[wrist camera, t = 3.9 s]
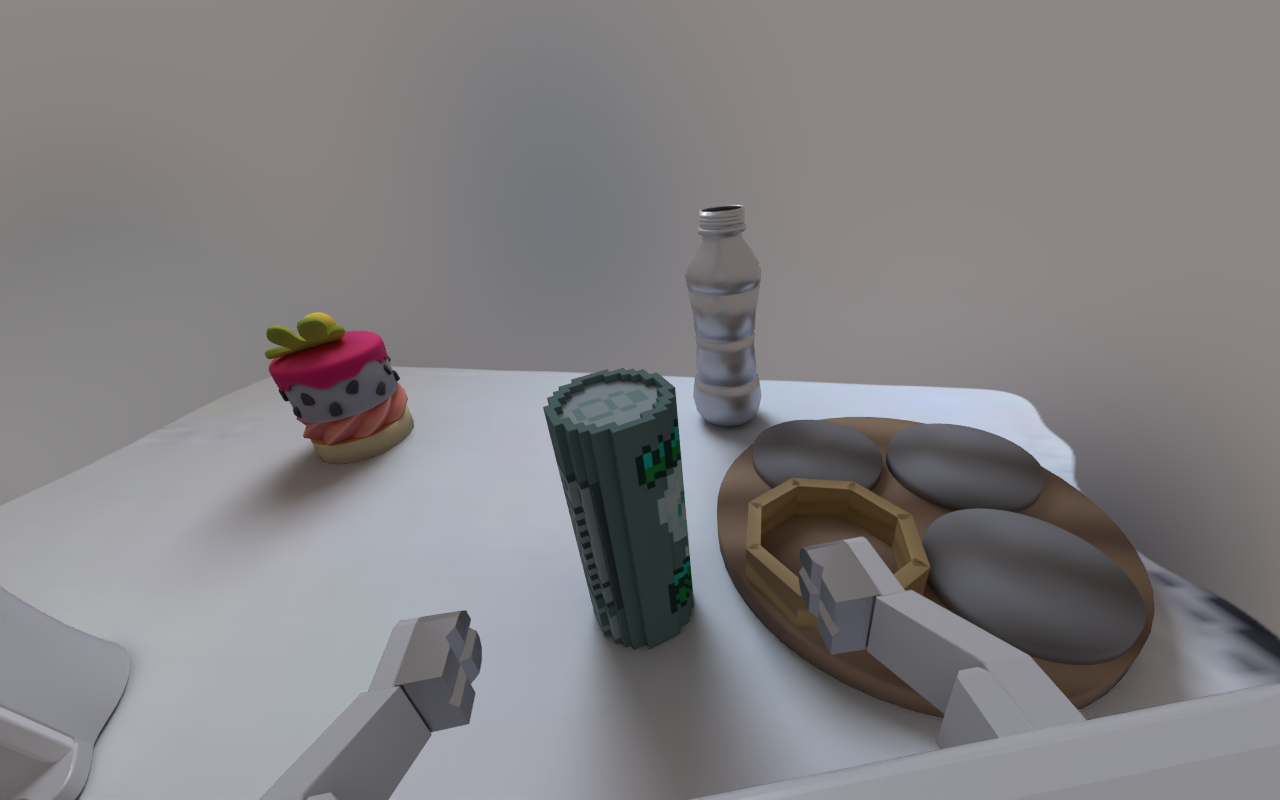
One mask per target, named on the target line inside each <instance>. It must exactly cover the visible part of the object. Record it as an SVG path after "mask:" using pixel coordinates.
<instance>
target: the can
mask: <svg viewBox="0 0 1280 800" xmlns="http://www.w3.org/2000/svg"><path fill="white" fill-rule="evenodd" d="M571 381H572V383H571V384H567V385H564V386H560V387H559V391H556V392H553V395H554V396H552V397H549V398H547V399H548V403H549V405H548V406H545V407H543V408H544V412H545V416H546V420H547V424H548V428H549V433H550V437H551V441H552V445H553V449H554V453H555V457H556V461H557V465H558V469H559V473H560V477H561V481H562V485H563V489H564V493H565V497H566V501H567V505H568V509H569V513H570V517H571V521H572V525H573V529H574V533H575V537H576V541H577V545H578V549H579V553H580V557H581V561H582V565H583V569H584V573H585V577H586V581H587V585H588V589H589V593H590V597H591V601H592V605H593V609H594V612H595V614H596V617H597V619H598V621H599V624H600V626H601V628H602V631H603V633H604V635H605V636H606V635H608V634H610V633H611V634H612V636H613V639H614V641H615V643H616V644H617V643H620V642H623V644H624V646H625V647H626V646H628V645H630V644H632V646H633V649H636V648H638V647H640V646H642V645H644V644H646V643H647V645H648V647H649V649H651V648H653V647H655V646H657V645H659V644H660V643H662V642H664V641H666V640H668V639H670V638H672V637H674V636H676V635H678V634H680V626H682V625H684V624H686V623H688V622H689V618H688V615H690V614H691V607H693V606H694V603H693V589H692V577H691V566H690V554H689V543H688V531H687V520H686V508H685V497H684V485H683V474H682V462H681V451H680V439H679V428H678V416H677V405H676V393H675V387H674V386H673V385H671V384H670V383H669V382H668V381H666V380H665V379H664V378H663V377H662V376H660V375H659V374H658V373H653V374H650V375H649V374H648V373H647V372H646V371H645V370H643V369H642V370H639V371H635V370H634V369H630V370H627V371H626V370H625V369H624V368H622V369H618V370H615V371H612V372H609V371H608V370H603V371H600V372H596V373H593V374H589V375H586V376H583V377H579V378H576V379H572V380H571Z"/></svg>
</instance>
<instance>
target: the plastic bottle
mask: <svg viewBox="0 0 1280 800" xmlns="http://www.w3.org/2000/svg"><path fill="white" fill-rule="evenodd" d="M745 225H746V224H745V223H744V206H742V205H723V206H715V207H708V208H704V209H701V210H699V228H698V233H699V234H700V235H702V241H701V243H700V245H699V246H698V247H697V249H696V251H695V252H694V254H693V256H692V257H691V260H690V261H689V263H688V266H687V270H686V275H685V278H686V285H687V288H688V294H689V299H690V304H691V308H692V313H693V319H694V327H695V332H696V343H697V356H696V357H697V359H696V377H695V383H694V395H693V396H694V400H695V404H696V408H697V411H698V412H699V413H700V415H701V416H702V417H703V418H704V419H705V420H707V421H708V422H711V423H713V424H717V425H723V426H733V425H739V424H743V423H745V422H747V421H749V420H750V419H752V418H753V416H754V415H755V414H756V413H757V411H758V409H759V405H760V400H761V390H760V383H759V378H758V374H757V371H756V360H755V349H754V329H755V314H756V306H757V300H758V294H759V287H760V285H759V283H760V278H761V270H760V266H759V262H758V260H757V258H756V256H755V255H754V253H753V252H752V250H751V248H750V247H749V246H748V244H747V243H746V242H745V240H744V239H743V238H742V232H743V231H745V229H746V227H745Z"/></svg>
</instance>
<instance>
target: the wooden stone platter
mask: <svg viewBox="0 0 1280 800" xmlns="http://www.w3.org/2000/svg"><path fill="white" fill-rule="evenodd" d="M717 521H718V537H719V544H720V551H721V554H722V557H723V560H724V563H725V567H726V569H727V571H728V573H729V575H730V577H731V579H732V581H733V583H734V585H735V587H736V589H737V590H738V592H739V593H740V595H741V596H742V598H743V599H744V601H745V602H746V604H747V605H748V606H749V608H750V609H751V610H752V611H753V612H754V613H755V614H756V616H757V617H758V618H759V619H760V620H761V621H762V623H763V624H764V625H765V626H766V627H767V628H768V629H769V630H770V631H772V632H773V633H774V634H775V635H776V636H777V637H778V638H779V639H780V640H781V641H782V642H784V643H785V644H786V645H787V646H788V647H789V648H791V649H792V650H794V651H795V652H796V653H798V654H799V655H800V656H802V657H803V658H804V659H806V660H807V661H808V662H810V663H811V664H813V665H814V666H816V667H818V668H819V669H821V670H823V671H824V672H826V673H828V674H829V675H831V676H833V677H834V678H836V679H838V680H840V681H841V682H843V683H845V684H847V685H850V686H852V687H854V688H856V689H858V690H860V691H862V692H865V693H867V694H869V695H871V696H873V697H875V698H878V699H881V700H884V701H887V702H890V703H892V704H895V705H898V706H901V707H904V708H907V709H910V710H913V711H917V712H922V713H926V714H930V715H934V716H939V717H943V718H944V714H943V713H942V712H941V711H940V710H939V709H937V708H936V707H935V706H934V705H932V704H931V703H930V702H929V701H928V700H926V699H925V698H924V697H923V696H921V695H920V694H919V693H918V692H916V691H915V690H914V689H913V688H912V687H910V686H909V685H908V684H907V683H905V682H904V681H903V680H902V679H901V678H899V677H898V676H897V675H896V674H894V673H893V672H892V671H891V670H890V669H888V668H887V667H886V666H885V665H883V664H882V663H881V662H880V661H878V660H877V659H876V658H875V657H874V656H872V655H871V654H870V653H869V652H867V649H864V650H858V651H851V652H845V653H839V654H833V655H830V653H829V651H828V649H827V647H826V645H825V643H824V641H823V639H822V637H821V635H820V633H819V631H818V629H817V625H818V617H816V616H815V615H813V614H812V613H810V612H809V611H808V609H807V606H806V604H805V602H804V600H803V597H802V594H801V590H800V585H799V571H800V570H801V569H802V567H803V565H802V563H801V561H800V559H799V557H800V550H801V548H803V547H808V546H813V545H818V544H823V543H828V542H834V541H839V540H840V541H842V540H846V539H852V538H857V537H862V536H863V537H864V538H866V539H867V540H868V541H869V543H870V544H871V545H872V547H873V548H874V549H875V551H876V552H877V553H878V555H879V556H880V557H881V559H882V560H883V561H884V563H885V564H886V565H887V567H888V568H889V570H890V571H891V572H892V574H893V575H894V576H895V578H896V579H897V580H898V582H899V583H900V584H901V586H902V587H903V588H904V590H905V591H908V590H913V591H915V592H916V593H918V594H920V595H922V596H924V597H925V598H927V599H929V600H931V601H933V602H934V603H936V604H938V605H940V606H941V607H943V608H945V609H947V610H949V611H950V612H952V613H954V614H956V615H958V616H959V617H961V618H963V619H965V620H967V621H968V622H970V623H972V624H974V625H976V626H977V627H979V628H981V629H983V630H985V631H986V632H988V633H990V634H992V635H994V636H995V637H997V638H999V639H1001V640H1002V641H1004V642H1006V643H1008V644H1010V645H1011V646H1013V647H1015V648H1017V649H1019V650H1020V651H1022V652H1024V653H1026V654H1028V655H1029V656H1030V657H1031V658H1032V659H1033V660H1034V661H1035V662H1036V664H1037V665H1038V666H1039V667H1040V668H1041V669H1042V670H1043V671H1044V673H1045V674H1046V675H1047V676H1048V677H1049V678H1050V679H1051V680H1052V682H1053V683H1054V684H1055V685H1056V686H1057V687H1058V688H1059V689H1060V691H1061V692H1062V693H1063V694H1064V695H1065V696H1066V697H1067V698H1068V700H1069V701H1070V702H1071V703H1072V704H1073V705H1074V706H1075V707H1076V709H1077V710H1079V709H1082V708H1084V707H1086V706H1087V705H1089V704H1091V703H1092V702H1094V701H1096V700H1097V699H1099V698H1101V697H1102V696H1104V695H1106V694H1107V693H1108V692H1109V691H1110V690H1111V689H1112V688H1113V687H1114V686H1115V685H1116V684H1117V683H1118V682H1119V681H1120V680H1121V679H1122V678H1123V676H1124V675H1125V674H1126V672H1127V671H1128V669H1129V668H1130V666H1131V665H1132V663H1133V662H1134V660H1135V659H1136V657H1137V656H1138V654H1139V653H1140V651H1141V649H1142V647H1143V645H1144V644H1145V642H1146V640H1147V638H1148V636H1149V634H1150V632H1151V627H1152V621H1153V616H1154V602H1153V590H1152V587H1151V584H1150V581H1149V578H1148V575H1147V572H1146V569H1145V567H1144V565H1143V563H1142V561H1141V559H1140V558H1139V556H1138V554H1137V552H1136V550H1135V548H1134V547H1133V545H1132V544H1131V543H1130V542H1129V540H1128V539H1127V538H1126V536H1125V535H1124V534H1123V532H1122V531H1121V530H1120V528H1119V527H1118V526H1117V525H1116V524H1115V523H1114V522H1113V521H1112V520H1111V519H1110V518H1109V517H1108V516H1107V515H1106V514H1105V513H1104V512H1103V511H1102V510H1101V509H1100V508H1099V507H1098V506H1097V505H1095V504H1094V503H1093V502H1092V501H1091V500H1090V499H1088V498H1087V497H1086V496H1085V495H1084V494H1083V493H1081V492H1080V491H1078V490H1077V489H1076V488H1074V487H1073V486H1071V485H1070V484H1068V483H1067V482H1066V481H1064V480H1063V479H1061V478H1060V477H1058V476H1056V475H1055V474H1053V473H1051V472H1050V471H1048V470H1046V469H1045V468H1043V467H1042V466H1040V464H1039V463H1038V461H1037V460H1036V459H1035V458H1034V457H1033V456H1032V455H1031V454H1029V453H1028V452H1027V451H1025V450H1024V449H1023V448H1021V447H1020V446H1018V445H1016V444H1015V443H1013V442H1011V441H1009V440H1007V439H1005V438H1002V437H1000V436H997V435H995V434H992V433H989V432H986V431H983V430H979V429H975V428H971V427H966V426H960V425H952V424H924V423H918V422H912V421H906V420H898V419H890V418H875V417H843V418H830V419H823V420H795V421H789V422H784V423H781V424H777V425H775V426H772V427H770V428H768V429H767V430H765V431H764V432H762V433H761V434H760V435H759V436H758V437H757V439H756V440H755V443H754V444H753V445H752V446H750V447H749V448H748V449H746V450H745V451H744V452H743V453H742V454H741V455H740V456H739V457H738V458H737V459H736V460H735V461H734V462H733V464H732V465H731V467H730V468H729V470H728V471H727V473H726V475H725V477H724V479H723V481H722V483H721V487H720V491H719V495H718V505H717Z"/></svg>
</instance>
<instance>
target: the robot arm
mask: <svg viewBox="0 0 1280 800" xmlns="http://www.w3.org/2000/svg"><path fill="white" fill-rule="evenodd" d="M799 559H800V561H801V563H802V565H803V567H802V569H801V570H800V571H799V585H800V590H801V594H802V597H803V600H804V602H805V604H806V606H807V609H808V611H809V612H810V613H812V614H813V615H815V616H816V617H818V625H817V629H818V631H819V633H820V635H821V637H822V639H823V641H824V643H825V645H826V647H827V649H828V651H829V653H830V655H833V654H839V653H845V652H851V651H858V650H864V649H867V652H869V653H870V654H871V655H872V656H874V657H875V658H876V659H877V660H878V661H880V662H881V663H882V664H883V665H885V666H886V667H887V668H888V669H890V670H891V671H892V672H893V673H894V674H896V675H897V676H898V677H899V678H901V679H902V680H903V681H904V682H905V683H907V684H908V685H909V686H910V687H912V688H913V689H914V690H915V691H916V692H918V693H919V694H920V695H921V696H923V697H924V698H925V699H926V700H928V701H929V702H930V703H931V704H932V705H934V706H935V707H936V708H937V709H939V710H940V711H941V712H942V713H943V714H944V718H943V721H942V724H941V727H940V730H939V733H938V736H937V739H936V743H937V745H938V747H939V748H940V750H935V751H930V752H925V753H920V754H915V755H910V756H905V757H900V758H895V759H890V760H885V761H880V762H875V763H870V764H865V765H860V766H855V767H850V768H845V769H840V770H835V771H830V772H825V773H820V774H815V775H810V776H805V777H800V778H795V779H790V780H785V781H780V782H775V783H770V784H764V785H759V786H754V787H749V788H744V789H739V790H734V791H729V792H724V793H719V794H714V795H709V796H704V797H699V798H694V799H689V800H1280V683H1279V684H1268V685H1260V686H1255V687H1250V688H1245V689H1241V690H1236V691H1231V692H1226V693H1221V694H1216V695H1211V696H1206V697H1201V698H1196V699H1191V700H1186V701H1181V702H1176V703H1171V704H1166V705H1161V706H1156V707H1151V708H1146V709H1141V710H1136V711H1131V712H1126V713H1121V714H1115V715H1110V716H1105V717H1100V718H1095V719H1090V720H1086V719H1085V718H1084V716H1083V715H1082V714H1081V713H1080V712H1079V711H1078V710H1077V709H1076V707H1075V706H1074V705H1073V704H1072V703H1071V702H1070V701H1069V700H1068V698H1067V697H1066V696H1065V695H1064V694H1063V693H1062V692H1061V691H1060V689H1059V688H1058V687H1057V686H1056V685H1055V684H1054V683H1053V682H1052V680H1051V679H1050V678H1049V677H1048V676H1047V675H1046V674H1045V673H1044V671H1043V670H1042V669H1041V668H1040V667H1039V666H1038V665H1037V664H1036V662H1035V661H1034V660H1033V659H1032V658H1031V657H1030V656H1029V655H1028V654H1026V653H1024V652H1022V651H1020V650H1019V649H1017V648H1015V647H1013V646H1011V645H1010V644H1008V643H1006V642H1004V641H1002V640H1001V639H999V638H997V637H995V636H994V635H992V634H990V633H988V632H986V631H985V630H983V629H981V628H979V627H977V626H976V625H974V624H972V623H970V622H968V621H967V620H965V619H963V618H961V617H959V616H958V615H956V614H954V613H952V612H950V611H949V610H947V609H945V608H943V607H941V606H940V605H938V604H936V603H934V602H933V601H931V600H929V599H927V598H925V597H924V596H922V595H920V594H918V593H916V592H915V591H913V590H908V591H905V590H904V588H903V587H902V586H901V584H900V583H899V582H898V580H897V579H896V578H895V576H894V575H893V574H892V572H891V571H890V570H889V568H888V567H887V565H886V564H885V563H884V561H883V560H882V559H881V557H880V556H879V555H878V553H877V552H876V551H875V549H874V548H873V547H872V545H871V544H870V543H869V541H868V540H867V539H866V538H864V537H863V536H862V537H857V538H852V539H846V540H842V541H840V540H839V541H834V542H828V543H823V544H818V545H813V546H808V547H803V548H801V550H800V557H799ZM470 621H471V619H470V617H469V615H468V613H467V611H457V612H451V613H444V614H438V615H431V616H425V617H419V618H414V619H408V620H402V621H399V622H398V623H397V624H396V626H395V627H394V628H393V631H392V633H391V636H390V638H389V641H388V643H387V646H386V648H385V650H384V653H383V655H382V658H381V660H380V663H379V665H378V668H377V670H376V673H375V675H374V678H373V680H372V683H371V685H370V688H369V690H368V692H364V693H361V694H360V695H359V696H358V697H357V698H356V699H355V700H354V701H353V702H352V703H351V704H350V705H349V706H348V707H347V709H346V710H345V711H344V712H343V713H342V714H341V715H340V716H339V717H338V718H337V719H336V720H335V721H334V722H333V723H332V724H331V725H330V726H329V727H328V728H327V729H326V730H325V731H324V732H323V734H322V735H321V736H320V737H319V738H318V739H317V740H316V741H315V742H314V743H313V744H312V745H311V746H310V747H309V748H308V749H307V750H306V751H305V752H304V753H303V754H302V755H301V756H300V758H299V759H298V760H297V761H296V762H295V763H294V764H293V765H292V766H291V767H290V768H289V769H288V770H287V771H286V772H285V773H284V774H283V775H282V776H281V777H280V778H279V779H278V780H277V781H276V783H275V784H274V785H273V786H272V787H271V788H270V789H269V790H268V791H267V792H266V793H265V794H264V795H263V796H262V797H261V798H260V799H259V800H388V799H389V798H390V796H391V795H392V793H393V792H394V790H395V789H396V787H397V786H398V784H399V783H400V781H401V780H402V778H403V777H404V775H405V774H406V772H407V771H408V769H409V768H410V766H411V765H412V763H413V762H414V760H415V759H416V757H417V756H418V754H419V753H420V751H421V750H422V748H423V747H424V745H425V744H426V742H427V741H428V739H429V738H430V736H431V733H430V732H435V731H439V730H444V729H448V728H453V727H457V726H462V725H466V724H469V722H470V718H471V713H472V708H473V703H474V698H475V691H474V689H473V687H472V685H471V683H472V682H473V681H474V680H475V678H476V677H477V676H478V675H479V673H480V667H481V662H482V646H481V642H480V638H479V635H478V633H477V631H475V630H473V629H471V628H469V625H470ZM129 672H130V659H129V656H128V654H127V652H126V650H125V649H124V648H123V647H122V646H120V645H118V644H116V643H114V642H111V641H107V640H104V639H101V638H98V637H95V636H93V635H90V634H87V633H85V632H82V631H80V630H78V629H76V628H73V627H71V626H69V625H67V624H64V623H63V622H61V621H59V620H57V619H55V618H53V617H51V616H49V615H47V614H45V613H43V612H42V611H40V610H38V609H36V608H35V607H33V606H31V605H30V604H28V603H26V602H25V601H23V600H21V599H20V598H18V597H16V596H15V595H13V594H11V593H10V592H8V591H7V590H5V589H4V588H2V587H1V586H0V800H75V799H76V798H77V796H78V795H79V794H80V792H81V790H82V789H83V787H84V785H85V783H86V781H87V778H88V775H89V771H90V767H91V761H92V754H93V745H94V743H95V741H96V739H97V737H98V735H99V733H100V731H101V730H102V728H103V726H104V725H105V723H106V721H107V720H108V718H109V717H110V715H111V713H112V712H113V710H114V709H115V707H116V705H117V703H118V701H119V700H120V698H121V696H122V693H123V691H124V689H125V686H126V684H127V680H128V677H129Z"/></svg>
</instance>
